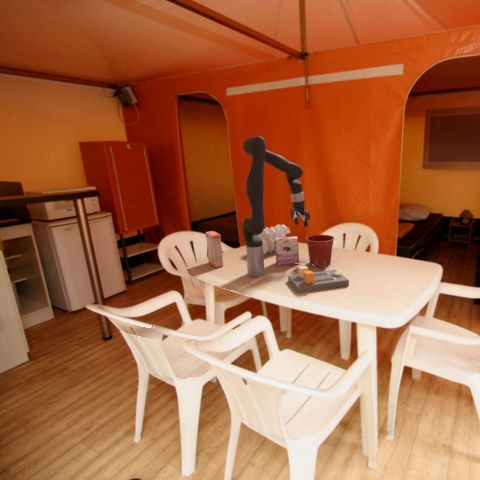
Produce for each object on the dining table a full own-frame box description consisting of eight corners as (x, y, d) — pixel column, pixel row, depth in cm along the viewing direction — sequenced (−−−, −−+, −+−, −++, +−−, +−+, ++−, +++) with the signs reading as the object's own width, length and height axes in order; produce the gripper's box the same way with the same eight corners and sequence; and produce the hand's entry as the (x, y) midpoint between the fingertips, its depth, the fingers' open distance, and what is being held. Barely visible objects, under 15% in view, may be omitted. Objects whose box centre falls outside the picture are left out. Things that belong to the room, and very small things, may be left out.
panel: (298, 292, 158) (297, 285, 157) (288, 281, 174) (288, 274, 173) (348, 285, 162) (348, 278, 161) (334, 274, 177) (334, 267, 176)
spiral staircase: (255, 260, 226) (279, 249, 241) (270, 253, 212) (295, 243, 227) (244, 235, 227) (269, 227, 242) (259, 227, 213) (285, 218, 228)
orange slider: (306, 283, 160) (306, 274, 159) (303, 280, 164) (303, 271, 163) (314, 282, 161) (314, 273, 159) (311, 279, 164) (311, 270, 163)
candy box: (298, 261, 204) (297, 235, 200) (299, 264, 198) (298, 238, 194) (276, 262, 205) (274, 236, 201) (276, 265, 199) (274, 239, 195)
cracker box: (223, 266, 205) (220, 234, 200) (214, 268, 203) (211, 235, 198) (217, 260, 218) (214, 230, 212) (208, 262, 216) (205, 231, 210)
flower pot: (334, 259, 202) (334, 234, 198) (334, 268, 186) (334, 241, 182) (307, 259, 206) (306, 234, 202) (305, 268, 191) (304, 241, 187)
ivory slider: (301, 278, 168) (300, 268, 166) (298, 275, 172) (298, 266, 170) (308, 277, 168) (308, 267, 167) (305, 274, 172) (305, 265, 171)
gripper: (285, 200, 199) (289, 225, 204) (301, 202, 187) (304, 229, 192) (294, 197, 202) (298, 222, 208) (310, 199, 191) (314, 225, 196)
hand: (301, 225), depth 200 cm, fingers open, 8 cm apart
